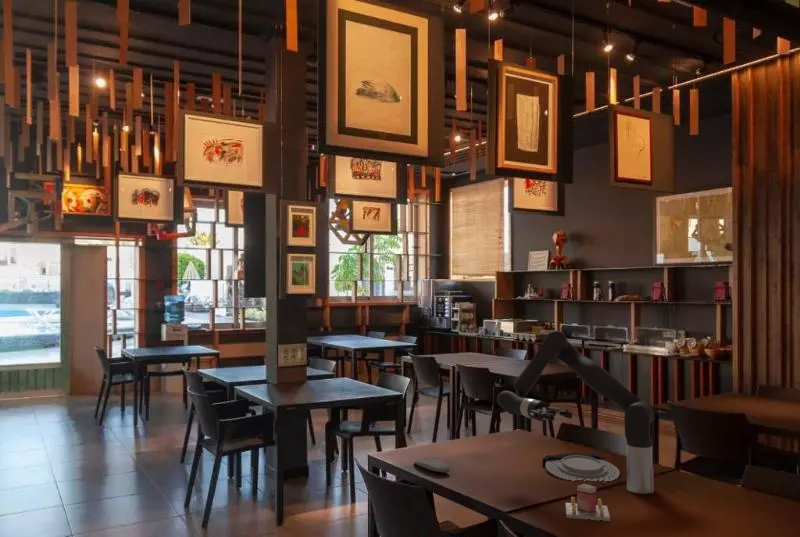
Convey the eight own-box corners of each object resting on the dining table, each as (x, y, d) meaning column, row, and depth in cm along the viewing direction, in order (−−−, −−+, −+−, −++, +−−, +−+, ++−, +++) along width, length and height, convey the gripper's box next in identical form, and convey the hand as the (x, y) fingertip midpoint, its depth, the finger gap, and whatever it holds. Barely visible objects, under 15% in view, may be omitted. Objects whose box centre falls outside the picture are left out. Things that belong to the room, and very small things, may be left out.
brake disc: (539, 460, 290) (539, 450, 290) (607, 462, 288) (607, 451, 288) (552, 483, 258) (552, 471, 258) (628, 484, 256) (628, 472, 256)
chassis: (607, 509, 226) (606, 498, 227) (610, 521, 215) (610, 510, 215) (565, 506, 230) (565, 495, 230) (566, 517, 218) (566, 506, 218)
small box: (576, 508, 223) (576, 485, 223) (584, 506, 226) (584, 483, 226) (589, 512, 219) (589, 489, 219) (596, 510, 222) (596, 486, 222)
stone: (430, 462, 289) (409, 464, 285) (430, 454, 289) (409, 456, 285) (453, 474, 266) (431, 476, 263) (453, 465, 267) (431, 468, 263)
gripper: (519, 400, 249) (547, 408, 235) (548, 398, 256) (577, 404, 241) (519, 420, 249) (547, 428, 235) (548, 417, 256) (577, 425, 241)
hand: (562, 416), depth 238 cm, fingers open, 8 cm apart
